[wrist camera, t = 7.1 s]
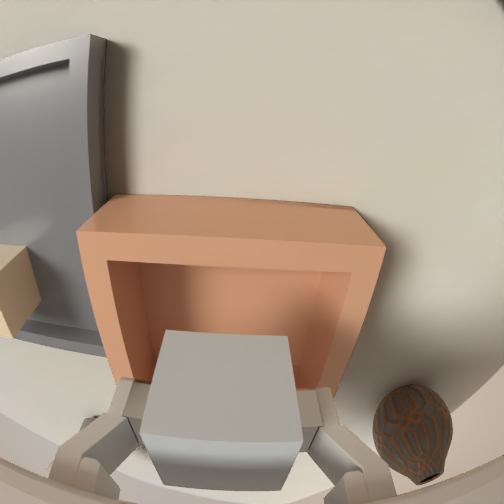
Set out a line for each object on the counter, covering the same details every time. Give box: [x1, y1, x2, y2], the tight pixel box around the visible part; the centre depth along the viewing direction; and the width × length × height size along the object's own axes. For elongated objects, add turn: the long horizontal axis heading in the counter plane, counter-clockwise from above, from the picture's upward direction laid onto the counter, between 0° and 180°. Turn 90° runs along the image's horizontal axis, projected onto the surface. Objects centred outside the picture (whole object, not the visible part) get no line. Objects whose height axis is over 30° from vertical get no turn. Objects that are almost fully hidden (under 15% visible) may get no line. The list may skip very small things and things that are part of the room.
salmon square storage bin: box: [76, 194, 386, 398], centre depth 16 cm, size 12×12×4 cm
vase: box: [373, 385, 453, 485], centre depth 20 cm, size 7×7×9 cm
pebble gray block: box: [139, 330, 303, 491], centre depth 9 cm, size 4×4×4 cm
